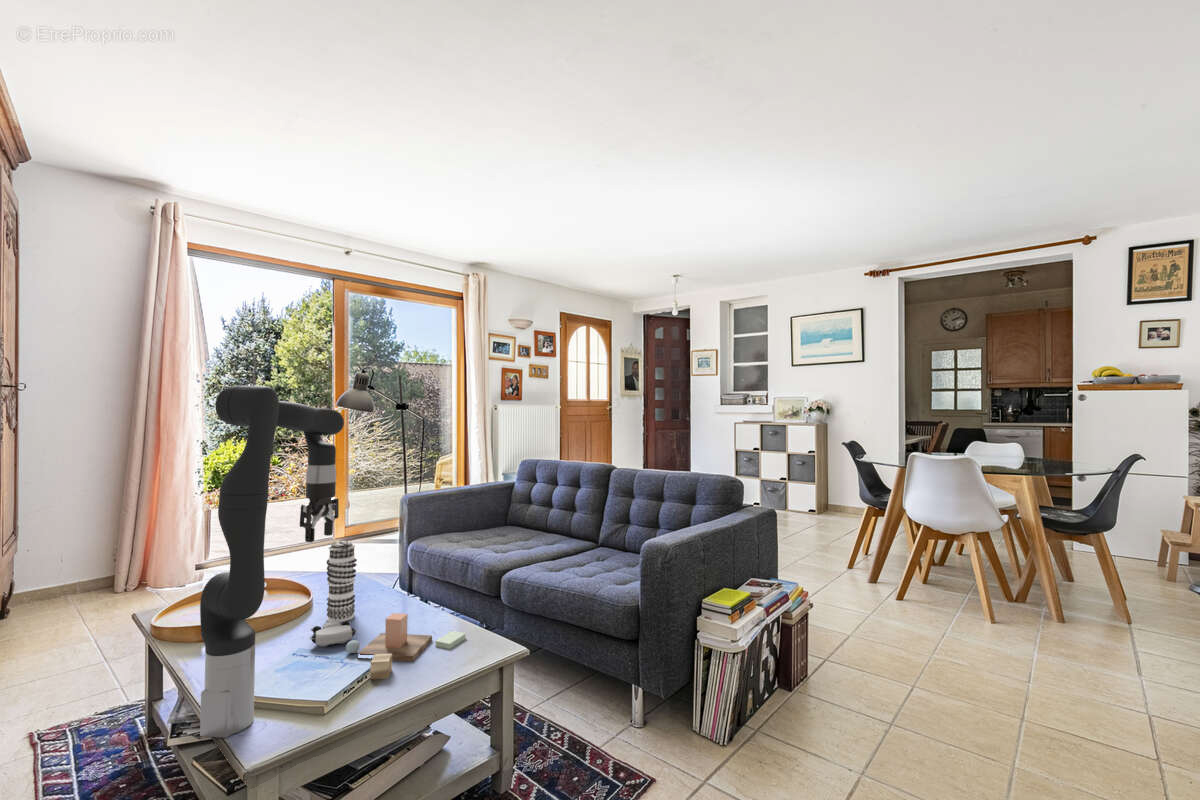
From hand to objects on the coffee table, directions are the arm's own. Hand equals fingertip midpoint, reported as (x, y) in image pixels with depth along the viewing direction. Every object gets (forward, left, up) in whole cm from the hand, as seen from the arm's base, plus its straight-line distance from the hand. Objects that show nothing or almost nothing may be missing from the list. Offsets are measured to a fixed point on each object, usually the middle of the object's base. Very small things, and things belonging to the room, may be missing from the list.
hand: (319, 538), depth 156 cm
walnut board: (+8, -19, -34) cm, 39 cm away
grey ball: (+4, -8, -32) cm, 33 cm away
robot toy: (+12, +3, -34) cm, 36 cm away
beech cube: (-7, -22, -34) cm, 41 cm away
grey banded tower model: (+29, +10, -34) cm, 46 cm away
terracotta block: (+8, -19, -32) cm, 38 cm away
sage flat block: (+14, -33, -34) cm, 50 cm away
